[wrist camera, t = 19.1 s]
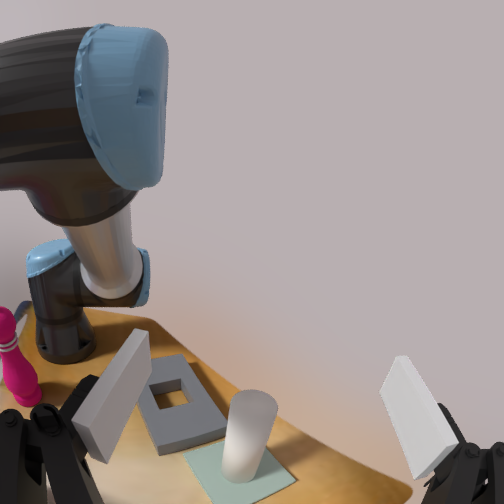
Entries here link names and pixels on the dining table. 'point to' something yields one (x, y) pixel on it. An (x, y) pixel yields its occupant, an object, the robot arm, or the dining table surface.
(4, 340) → the pink bowling pin
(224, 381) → the dining table surface
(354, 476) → the dining table surface
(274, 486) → the pad
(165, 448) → the grey holed plate
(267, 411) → the plug
